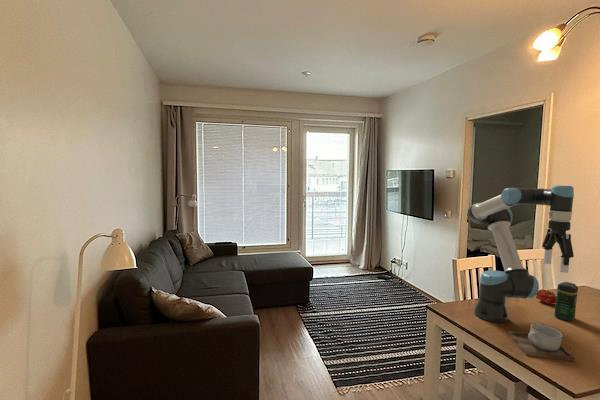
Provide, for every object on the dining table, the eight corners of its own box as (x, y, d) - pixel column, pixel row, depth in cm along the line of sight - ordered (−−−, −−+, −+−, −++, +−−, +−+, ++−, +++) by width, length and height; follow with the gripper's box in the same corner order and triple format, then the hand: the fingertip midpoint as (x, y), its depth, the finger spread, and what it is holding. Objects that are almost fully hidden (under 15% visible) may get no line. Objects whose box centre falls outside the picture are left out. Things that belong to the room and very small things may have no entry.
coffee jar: (571, 323, 160) (575, 287, 158) (552, 317, 166) (555, 282, 165) (576, 318, 166) (580, 283, 164) (557, 312, 172) (561, 279, 170)
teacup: (546, 341, 140) (547, 323, 139) (568, 355, 129) (569, 336, 128) (515, 340, 139) (517, 323, 139) (535, 355, 128) (536, 336, 128)
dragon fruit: (533, 301, 191) (557, 311, 182) (531, 296, 186) (556, 306, 177) (538, 289, 193) (563, 298, 183) (537, 284, 187) (562, 293, 178)
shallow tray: (508, 334, 146) (508, 330, 146) (551, 340, 142) (551, 336, 142) (525, 354, 129) (525, 350, 129) (574, 361, 125) (574, 357, 125)
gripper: (536, 216, 152) (532, 259, 154) (566, 224, 128) (561, 275, 130) (554, 217, 150) (550, 261, 152) (588, 225, 126) (582, 277, 128)
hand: (555, 267), depth 141 cm, fingers open, 13 cm apart
